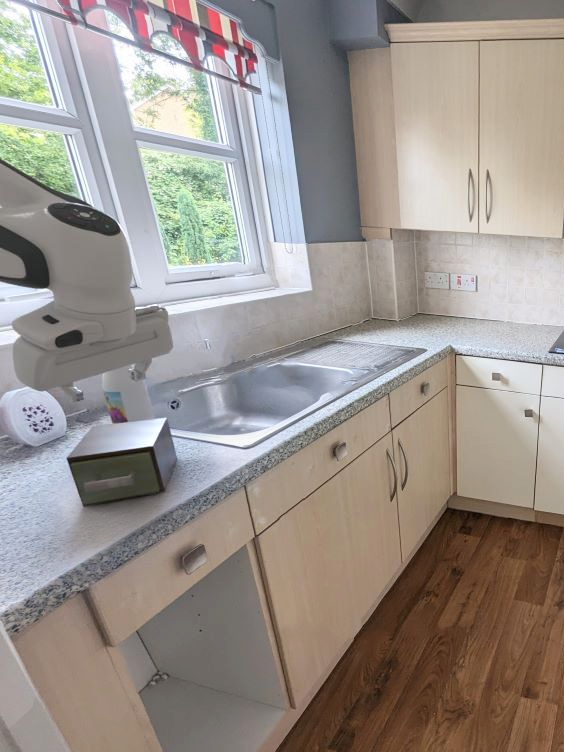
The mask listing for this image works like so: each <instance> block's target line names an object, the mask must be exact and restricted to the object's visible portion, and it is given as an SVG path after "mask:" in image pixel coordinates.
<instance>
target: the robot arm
mask: <svg viewBox="0 0 564 752" xmlns="http://www.w3.org/2000/svg"><path fill="white" fill-rule="evenodd" d="M0 207H1V208H0V282H1V283H3V284H8V285H12V286H18V287H22V288H29V289H36V290H45V289H47V290H48V291H51V292H52V295H53V300H51V301H50V302H48V303H45V304H44V305H43V306H41V307H39V308H36V309H34V310H32V311H29V312H28V313H26V314H22V315H20V316H19V317H16V318H15V319H12V321H11V326H12V327H11V328H12V329H13V331H14V332H15V333H17V335H18V336H19V337H17V338H16V339H15V341H14V343H13V345H12V363H13V369H14V373H15V376H16V379H17V380H18V381H19V382H20V383H21V384H23V385H24V386H26V387H28V388H30V389H32V390H35V391H38V392H46V391H50V390H53V389H56V388H58V389H59V390H61V391H62V392H63V395H64V399H65V400H66V401H68V403H70V404H75V403H79V402H81V401H84V400H85V397H84V392H83V391H82V390H80V389H78V388H77V387H75V386H74V383H76V382H78V381H82V380H85V379H88V378H92V377H95V376H98V375H103V374H104V373H105V372H109V371H112V370H115V369H118V368H122V367H125V366H128V365H133V366H134V369H131V370H129V373H130V375H129V377H130V378H131V379H132V380H134V381H135V382H138V381H141V380H144V381H145V380H146V379H147V376H146V375H147V374H146V372H147V371H148V369H149V367H150V366H151V364H152V363H153V359H154V358H157V357H161V356H164V355H168V354H170V352H171V351H172V349H173V348H174V341H173V336H172V331H171V327H170V324H169V312H168V310H167V309H166V308H165V307H164V306H160V305H158V304H151V305H148V306H143V307H136V300H135V297H134V294H133V292H132V290H131V284H132V282H133V278H134V277H133V276H134V275H133V265H132V258H131V251H130V247H129V242H128V239H127V236H126V234H125V231H124V230H123V228H122V226H121V224H120V223H119V222H118V221H117V220H116V219H115V218H114V217H112V216H111V215H110V214H108V213H106V212H104V211H102V210H100V209H98V208H95V207H94V206H92V204H90V203H88V202H87V201H85V200H83V199H80V198H79V197H76V196H73V195H70V194H67V193H64V192H62V191H59V190H56V189H54V188H53V187H50V186H48V185H46V184H45V183H43V182H41V181H40V180H37V179H36V178H34V177H32V175H31V176H30V175H29V174H27V173H26V172H24V171H22V170H21V169H19V168H17V167H15V166H14V165H12V164H11V163H9V162H7V161H5V160H4V159H2V158H0Z"/></svg>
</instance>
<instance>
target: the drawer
mask: <svg viewBox="0 0 564 752" xmlns="http://www.w3.org/2000/svg"><path fill="white" fill-rule="evenodd" d="M70 466H71V469H72V472H73V475H74V478H75V481H76V483H77V486H78V489H79V492H80V495H81V498H82V501H83V504H84V505H85V504H91V503H97V502H102V501H108V500H113V499H119V498H125V497H130V496H136V495H142V494H147V493H153V492H159V490H160V486H159V483H158V479H157V475H156V472H155V468H154V464H153V461H152V457H151V453H150V451H142V452H135V453H128V454H121V455H114V456H107V457H100V458H93V459H86V460H82V461H78V462H72V464H71V465H70Z"/></svg>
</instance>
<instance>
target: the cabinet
mask: <svg viewBox="0 0 564 752" xmlns="http://www.w3.org/2000/svg"><path fill="white" fill-rule="evenodd" d="M170 428H171V427H170V423H169V420H168V417H161V418H155V419H151V420H142V421H134V422H125V423H117V424H112V423H110V424H109V423H108V424H100V425H93V426H92V427H91V428H90V429H89V430H88V431H87V433H86V434H85V435H84V436H83V438H82V439H81V440H80V441H79V442H78V443H77V445H75V447H74V448H73V450H71V452H69V454H68V455H67V457H66V461H67V465H68V467H69V471H70V473H71V476H72V479H73V482H74V484H75V487H76V490H77V493H78V496H79V499H80V502H81V505H82V507H88V506H93V505H99V504H104V503H110V502H116V501H123V500H126V499H133V498H139V497H143V496H150V495H156V494H161V493H165V492H166V491H167V488H168V485H169V483H170V480H171V477H172V474H173V472H174V469H175V466H176V463H177V460H178V455H177V451H176V448H175V443H174V438H173V436H172V431H171V429H170ZM142 451H150V453H151V457H152V461H153V464H154V468H155V472H156V475H157V479H158V483H159V486H160V490H159V492H153V493H147V494H142V495H136V496H130V497H125V498H119V499H113V500H108V501H102V502H97V503H91V504H85V505H84V504H83V501H82V498H81V495H80V492H79V489H78V486H77V483H76V481H75V478H74V475H73V472H72V469H71V466H70V465H71V464H72V462H78V461H82V460H86V459H93V458H100V457H107V456H114V455H121V454H128V453H135V452H142Z"/></svg>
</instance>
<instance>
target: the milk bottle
mask: <svg viewBox="0 0 564 752" xmlns="http://www.w3.org/2000/svg"><path fill="white" fill-rule="evenodd" d="M134 366H135V365H134V364H132V365H128V366H125V367H122V368H118V369H115V370H112V371H109V372H105V373H103V374H102V379H101V387H102V392H103V397H104V399H105V403H106V406H107V410H108V413H109V417H110V420H111V424H117V423H125V422H134V421H142V420H151V419H156V418H155V413H154V410H153V406H152V402H151V398H150V395H149V391H148V388H147V384H146V382H145V381H146V380H145V379H144V380H141V381H138V382H135V381H134V380H132V379H131V378H130V377H129V375H130V373H129V370H131V369H134Z"/></svg>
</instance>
